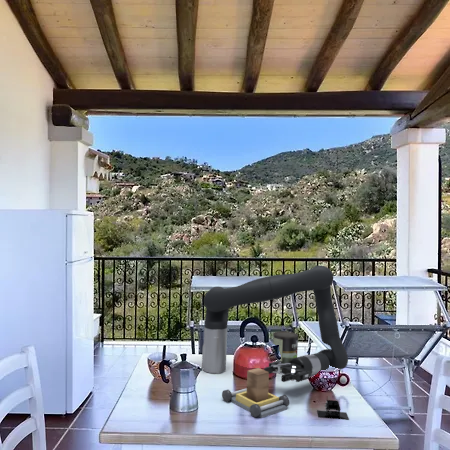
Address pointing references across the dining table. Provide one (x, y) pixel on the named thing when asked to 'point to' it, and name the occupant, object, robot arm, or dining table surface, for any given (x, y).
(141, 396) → the dining table surface
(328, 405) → the black angular machine part
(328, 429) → the dining table surface
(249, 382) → the brown wooden block
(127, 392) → the dining table surface
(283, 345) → the coffee can
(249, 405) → the chassis
